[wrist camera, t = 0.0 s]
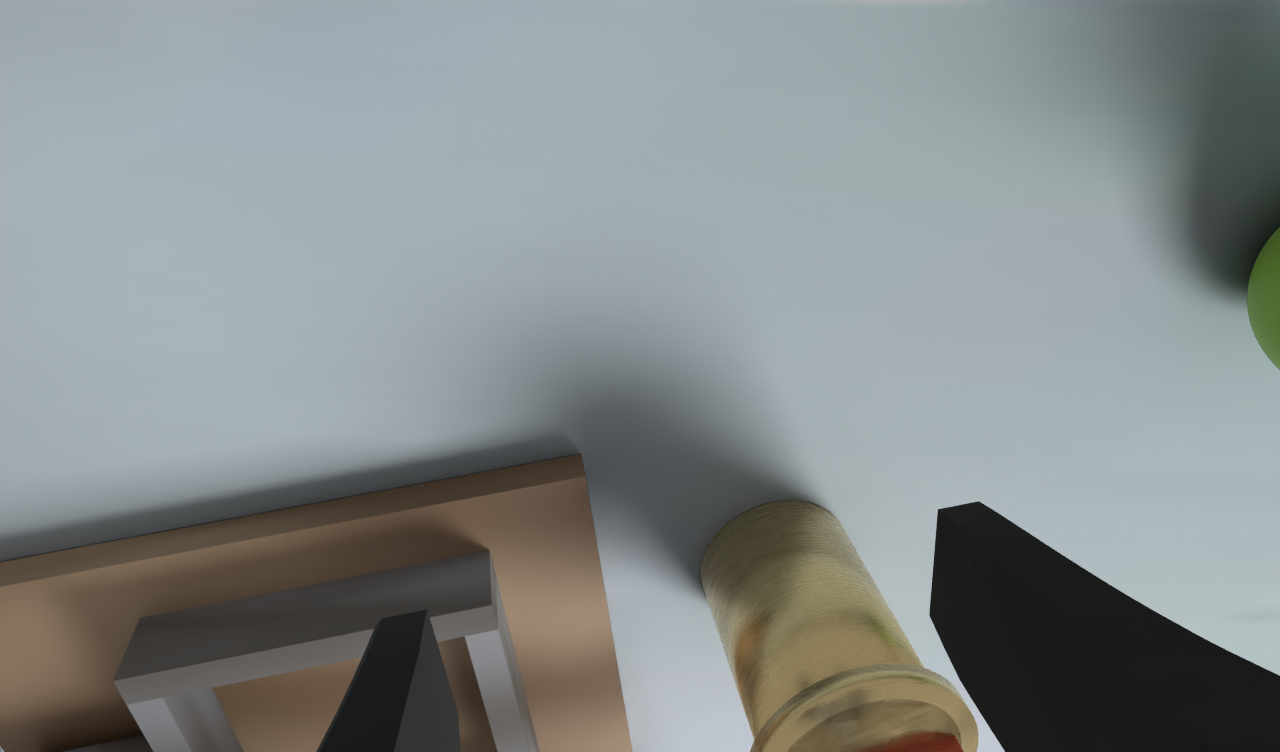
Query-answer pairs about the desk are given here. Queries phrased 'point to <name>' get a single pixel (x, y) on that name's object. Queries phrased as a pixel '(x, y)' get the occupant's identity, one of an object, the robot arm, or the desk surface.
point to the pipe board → (319, 622)
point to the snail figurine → (1266, 298)
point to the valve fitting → (821, 642)
